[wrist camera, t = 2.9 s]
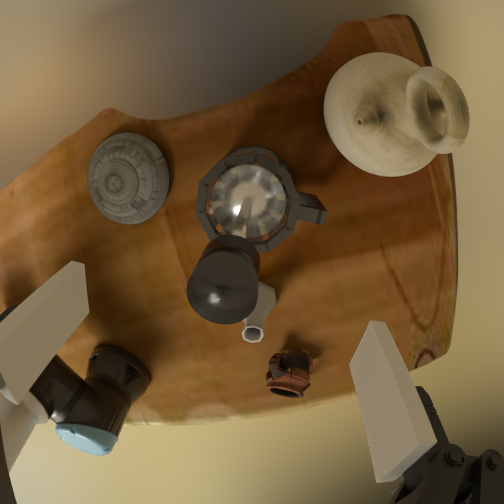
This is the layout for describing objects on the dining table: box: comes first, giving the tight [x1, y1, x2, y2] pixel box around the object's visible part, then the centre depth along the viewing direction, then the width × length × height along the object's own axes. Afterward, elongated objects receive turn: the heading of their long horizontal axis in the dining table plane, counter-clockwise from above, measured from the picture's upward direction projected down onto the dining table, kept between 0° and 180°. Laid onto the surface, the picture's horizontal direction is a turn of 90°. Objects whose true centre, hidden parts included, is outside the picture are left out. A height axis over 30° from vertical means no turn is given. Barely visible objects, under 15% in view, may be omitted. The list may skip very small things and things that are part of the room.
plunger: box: [187, 164, 286, 324], centre depth 25 cm, size 8×8×21 cm
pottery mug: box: [266, 349, 313, 398], centre depth 55 cm, size 12×10×8 cm
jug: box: [324, 52, 470, 176], centre depth 27 cm, size 15×16×25 cm
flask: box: [242, 281, 277, 343], centre depth 47 cm, size 7×7×10 cm
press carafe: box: [195, 146, 327, 253], centre depth 38 cm, size 15×12×13 cm
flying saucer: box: [87, 132, 169, 224], centre depth 42 cm, size 15×15×6 cm
